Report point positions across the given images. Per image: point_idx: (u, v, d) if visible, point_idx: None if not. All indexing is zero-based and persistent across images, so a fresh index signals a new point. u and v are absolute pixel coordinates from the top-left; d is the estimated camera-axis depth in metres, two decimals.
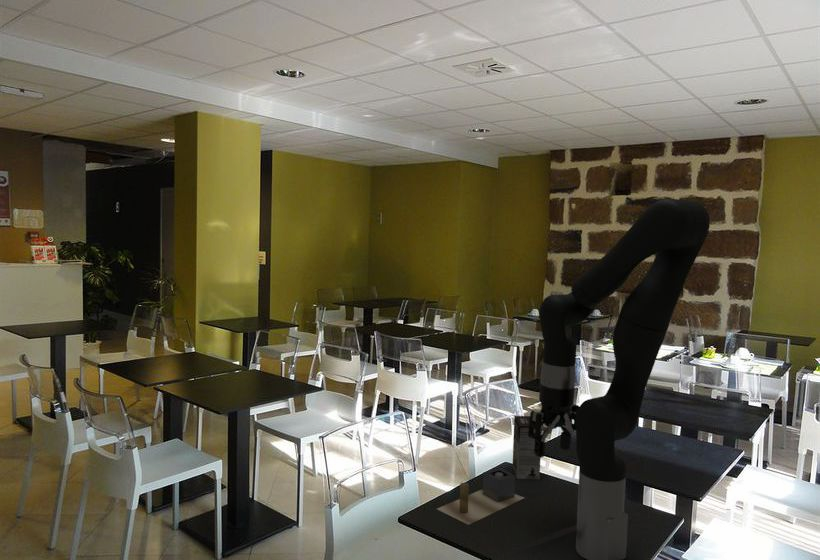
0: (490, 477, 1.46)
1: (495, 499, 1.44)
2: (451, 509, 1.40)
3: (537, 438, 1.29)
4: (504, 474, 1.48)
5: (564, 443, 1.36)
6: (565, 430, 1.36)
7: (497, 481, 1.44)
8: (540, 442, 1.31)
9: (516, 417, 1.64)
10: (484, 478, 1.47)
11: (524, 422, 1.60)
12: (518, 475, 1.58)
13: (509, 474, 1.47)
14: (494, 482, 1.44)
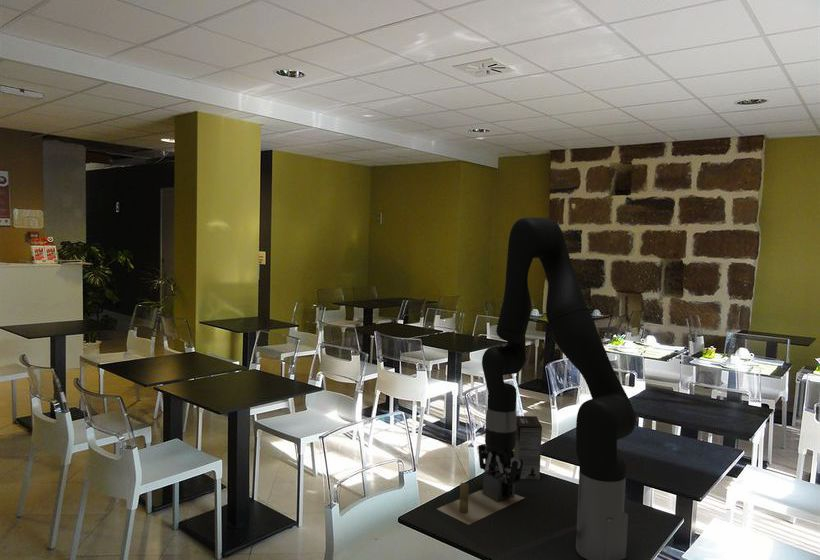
0: (490, 477, 1.46)
1: (495, 499, 1.44)
2: (451, 509, 1.40)
3: None
4: None
5: None
6: (490, 470, 1.49)
7: (497, 481, 1.44)
8: None
9: None
10: (484, 478, 1.47)
11: (524, 422, 1.60)
12: None
13: None
14: (494, 482, 1.44)
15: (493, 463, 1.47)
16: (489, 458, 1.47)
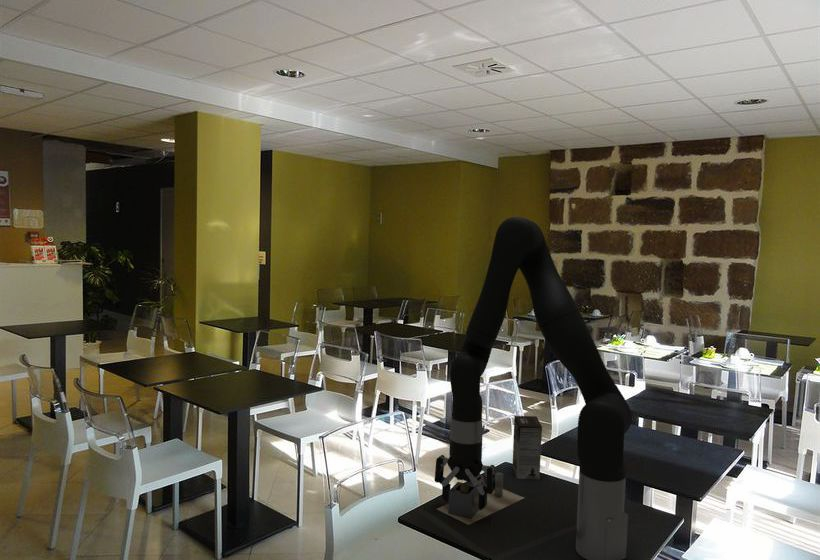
0: (459, 494, 1.36)
1: (467, 516, 1.35)
2: None
3: None
4: None
5: (448, 495, 1.40)
6: (448, 482, 1.40)
7: (470, 496, 1.35)
8: None
9: (516, 417, 1.64)
10: (451, 496, 1.37)
11: (524, 422, 1.60)
12: (518, 475, 1.58)
13: (473, 486, 1.39)
14: (466, 498, 1.35)
15: (456, 477, 1.38)
16: (454, 472, 1.37)
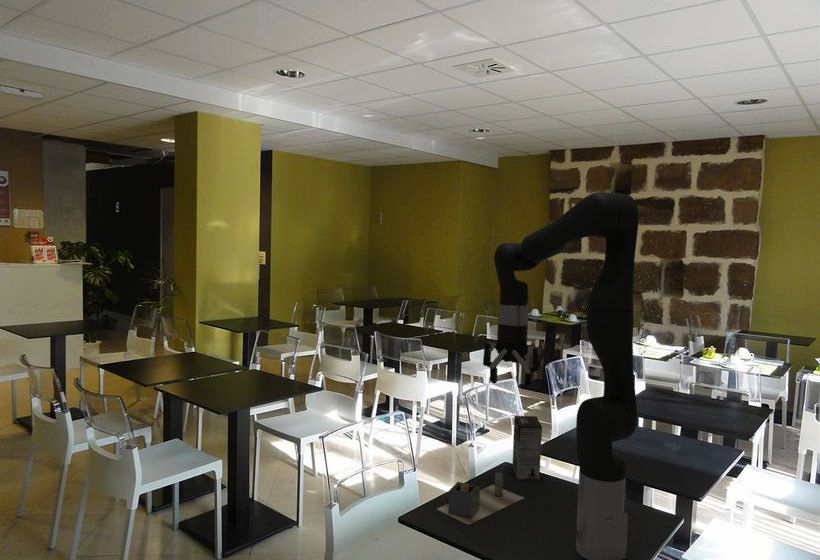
0: (459, 494, 1.36)
1: (467, 516, 1.35)
2: None
3: None
4: None
5: (495, 377, 1.53)
6: (495, 366, 1.52)
7: (470, 496, 1.35)
8: None
9: (516, 417, 1.64)
10: (451, 496, 1.37)
11: (524, 422, 1.60)
12: (518, 475, 1.58)
13: (473, 486, 1.39)
14: (466, 498, 1.35)
15: (504, 359, 1.50)
16: (501, 354, 1.50)
